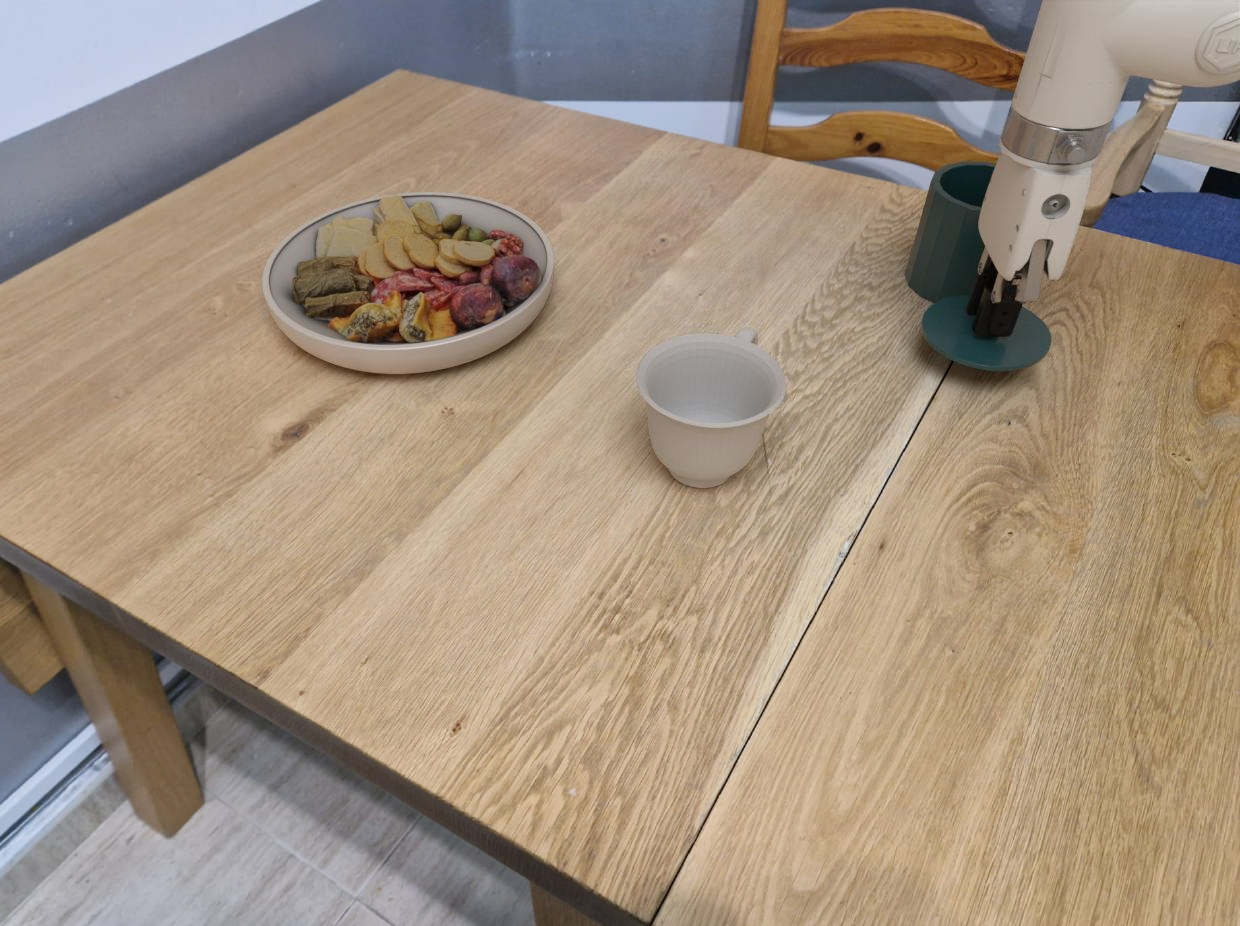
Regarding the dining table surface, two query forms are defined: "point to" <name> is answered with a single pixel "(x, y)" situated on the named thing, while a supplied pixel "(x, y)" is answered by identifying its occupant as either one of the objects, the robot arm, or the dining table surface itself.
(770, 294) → the dining table surface
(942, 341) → the canister lid
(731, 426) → the teacup
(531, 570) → the dining table surface
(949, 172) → the teal hollow cylinder
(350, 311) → the bowl
